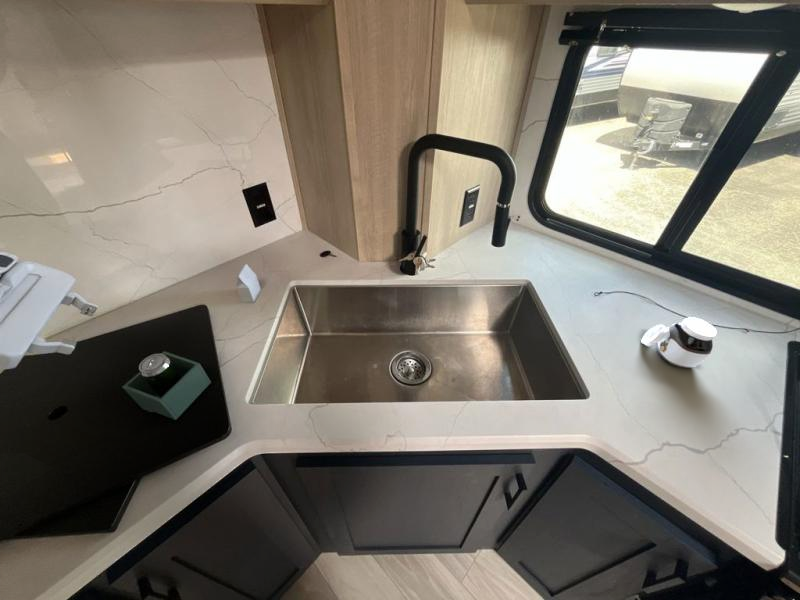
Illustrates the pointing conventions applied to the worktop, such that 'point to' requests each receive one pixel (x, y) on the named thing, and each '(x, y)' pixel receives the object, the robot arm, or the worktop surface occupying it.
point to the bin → (177, 396)
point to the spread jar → (682, 341)
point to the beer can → (159, 373)
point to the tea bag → (247, 285)
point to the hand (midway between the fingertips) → (85, 328)
